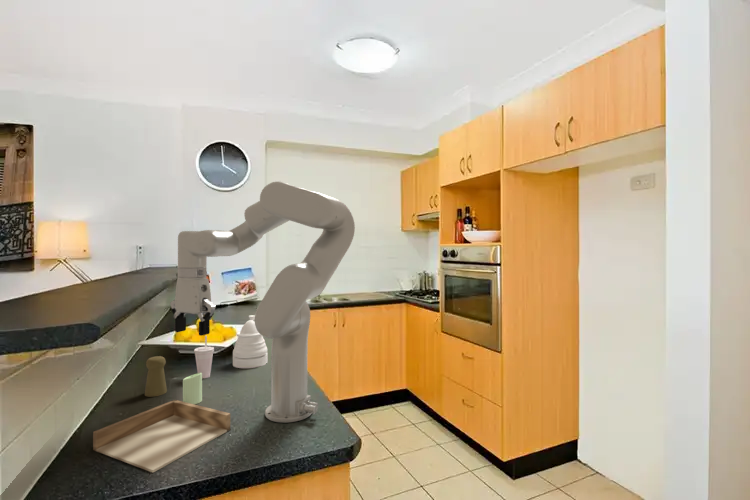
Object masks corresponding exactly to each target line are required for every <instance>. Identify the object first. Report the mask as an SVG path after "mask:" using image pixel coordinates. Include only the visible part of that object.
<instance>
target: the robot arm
mask: <svg viewBox="0 0 750 500" xmlns="http://www.w3.org/2000/svg"><path fill="white" fill-rule="evenodd" d="M244 220H245V221H244V222H242V223H241V224H240V225H237V226H236V227H233V228H232V229H230V230H219V229H204V230H200V231H199V230H184V231H183V230H182V231H180V232H179V233H178V234H177V235H178V236H177V280H176V285H175V294H174V296H175V297H174V300H172V301H171V302H170V303H169V306H170V307H171V312H172V314H173V318H174V332H175V333H181V332H185V331H186V330H187V316H186V315H187V314H189V315H197V316H198V318H199V321H198V336H200V337H202V336H207V335H209V334H210V329H211V327H210V325H211V324H210V320H212V317H213V316H214V314H215V313H214V312H215V311H216V308H217V307H216V305H215V304H214V303H213V302H212V294H211V293H212V291H211V285H210V282H209V278H207V274H208V270H207V269H208V268H207V265H208V264H207V258H209V257H211V258H217V257H231V256H234V255H238V254H240V253H241V252H243V251H245V250H247V249H249V248H251V247H253V246H254V245H256V244H257V243H258V242H260V240H261V239H262V238H263V236H264V235H265V234H268V233H269V232H271V231H273V230H274V229H277V228H278V227H280V226H282V225H284V224H286V223H287V222H293V223H294V222H295V223H297V224H299V225H303V226H307V227H309V228H314V229H320V230H322V232H321V234H320V235H319V236H318V238H317V239H316V241H315V242H314V243H313V244H312V246H311V248H310V249H309V251H308V252H307V254H306V255H305V257H304V259H303V260H302V261H301V262H298V263H292V264H288V265H287V266H285V267H284V268H283V269H282V270H281V271H280V272H279V273H278V274H277V275H276V276H275V278H274V279H273V282H272V283H271V285H270V287H269V288H268V290H267V291H266V293H265V294H264V296H263V298H262V300H261V301H260V303H259V304H258V306H257V308H256V311H255V313H254V315H255V319H254V322H255V326H256V329H257V331H258V332H259V333H260V334H261V335H262V336H263V338H266V339H272V341H271V354H270V355H271V358H270V359H271V361H270V363H271V365H270V366H271V368H270V370H271V373H270V374H271V378H270V379H271V381H270V382H271V385H270V387H271V388H270V389H271V392H270V396H271V397H270V398H271V399H270V400H271V401H270V403H271V404H270V405H268V406H267V407H266V408H265V411H264V413H265V418H266V419H268V420H269V421H271V422H276V423H281V424H283V423H285V424H286V423H294V422H295V423H296V422H298V421H303V420H305V419H307V418H308V417H310V416H311V415H315V414H317V413H318V411H319V410H318V408H319V403H318V402H315V401H312V397H311V396H312V395H309V394H308V349H309V347H308V345H309V344H308V343H309V341H308V339H309V330H310V323H311V309H310V306H309V303H307V301H308V300H311V299H314V298H317V297H319V296H320V295H321V294H322V293H323V292H324V291H325V289H326V287H327V285H328V283H329V282H330V280H331V278H332V277H333V275H334V274H335V271H336V270H337V268H338V266H339V265H340V263H341V261H342V259H343V258H344V257H345V255H346V254H347V252H348V250H349V248H350V246H351V244H352V242H353V240H354V236H355V228H356V227H355V226H356V225H355V219H354V217H353V214H352V212H351V211H350V209H349V208H348V206H347V205H346V204H345V203H344V202H342V201H341V200H340V199H337V198H335V197H332V196H328V195H326V194H323V193H320V192H316V191H313V190H309V189H306V188H302V187H299V186H295V185H292V184H289V183H286V182H283V181H280V180H279V181H276V180H275V181H272V182H270V183H268V184H266V185H265V186H264V187H263V189H262V190H261V192H260V195H259V200H258V201H257V202H255V203H253V204H251V205H249V206H247V207H246V209H245V210H244Z"/></svg>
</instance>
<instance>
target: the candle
mask: <svg viewBox="0 0 750 500" xmlns="http://www.w3.org/2000/svg"><path fill="white" fill-rule="evenodd" d="M202 401H203V378H202V373H198V372H197V373H195V374H191V375H188V376H186V377H185V378H182V402H186V403H190V404H195V405H198V404H200V403H201V402H202Z"/></svg>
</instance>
